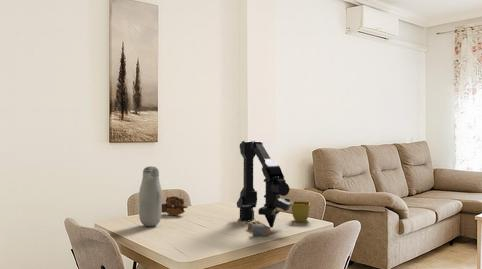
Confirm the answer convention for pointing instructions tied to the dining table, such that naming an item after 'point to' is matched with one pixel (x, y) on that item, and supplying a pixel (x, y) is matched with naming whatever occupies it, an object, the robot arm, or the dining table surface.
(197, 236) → the dining table surface
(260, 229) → the keeper
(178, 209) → the wooden carving
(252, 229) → the link
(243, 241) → the dining table surface
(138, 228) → the dining table surface
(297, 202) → the flower pot
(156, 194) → the grey tall rounded cylinder
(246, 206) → the robot arm
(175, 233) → the dining table surface
